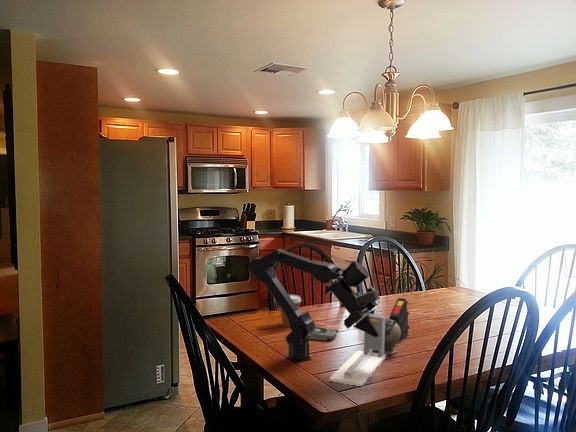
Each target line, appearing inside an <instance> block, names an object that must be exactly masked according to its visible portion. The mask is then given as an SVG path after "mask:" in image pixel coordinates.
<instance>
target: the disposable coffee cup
mask: <svg viewBox="0 0 576 432" xmlns="http://www.w3.org/2000/svg"><path fill="white" fill-rule="evenodd" d="M288 295H289V296H290V298H291V299H292V300H293V302H294V303H295V305H296V306H297V308H298V309H299V310H300V305H301V302H302V299H301V297H300V295H297V294H288ZM279 308H280V314H281V315H280V316H281V322H282V326H283V327H288V328H290V327H289V322H288V318H287V316H286V315H285V313H284V312H283V310H282V309H281V307H280V306H279Z"/></svg>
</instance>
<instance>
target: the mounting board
mask: <svg viewBox="0 0 576 432" xmlns="http://www.w3.org/2000/svg"><path fill="white" fill-rule="evenodd" d="M363 353H364V350H357V351H355V353H354V354H352V356H351V357H349V358H348V359H347V360H346V361H345V363H343V365H341V367H339V368H338V370H336V371H335V372H334V373H333V374H332V375H331V376H330V377H329V382H330V381H333V382H332V383H335V382H338V383H337V384H341V383H344V384H343V385H347V384H349V385H348V386H352V385H356V386H355V387H358V386H362V385H363V384H364V383H365V384H366V382H367V381H368V380H369V379H370V378H371V376H372V375H373V374H374V373H375V372H376V370H377V369H378V368H379V367H380V365H381V364H382V361H383V362H384V361H385V359H386V358H387V354H384V355H383V356H382V357H378V352H377V353H376V352H373V355H372V356H371V357H370V358H369V360H368V361H367V362H366V363H365V364H364V365H363V366H362V367H361V368H360V370H359V371H358V372H357V373H356V374H355V375H354V376H353V377H352V378H351V379H347V378H344V372H345V371H346V370H347V369H348V368H349V367H350V366H351V365H352V364H353V363H354V362H355V361H356V360H357V359H358V358H359V357H360V356H361V355H362V354H363ZM377 367H378V368H377ZM376 368H377V369H376ZM373 372H374V373H373ZM372 373H373V374H372ZM369 377H370V378H369ZM368 378H369V379H368ZM367 379H368V380H367ZM365 384H364V385H365ZM364 385H363V386H364ZM363 386H362V387H363Z"/></svg>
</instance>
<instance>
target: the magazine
mask: <svg viewBox="0 0 576 432" xmlns="http://www.w3.org/2000/svg"><path fill="white" fill-rule="evenodd" d="M407 304H408V300H407V299H406V298H400V297H399V298H397V300H396V302H395V304H394V306H393V308H392V310H391V312H390V314H389V317H388V319H390V320H392V321H394V320H397V322H396V323H397V324H398V326H399V328H400V331H401V336H400V339H399V341H398V342H401V341H402V340H403V339H405V338H406V337H407V336H408V335H409V330H410V325H409V317H408V316H409V315H410V313H409V312H410V311H408V305H407Z"/></svg>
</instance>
